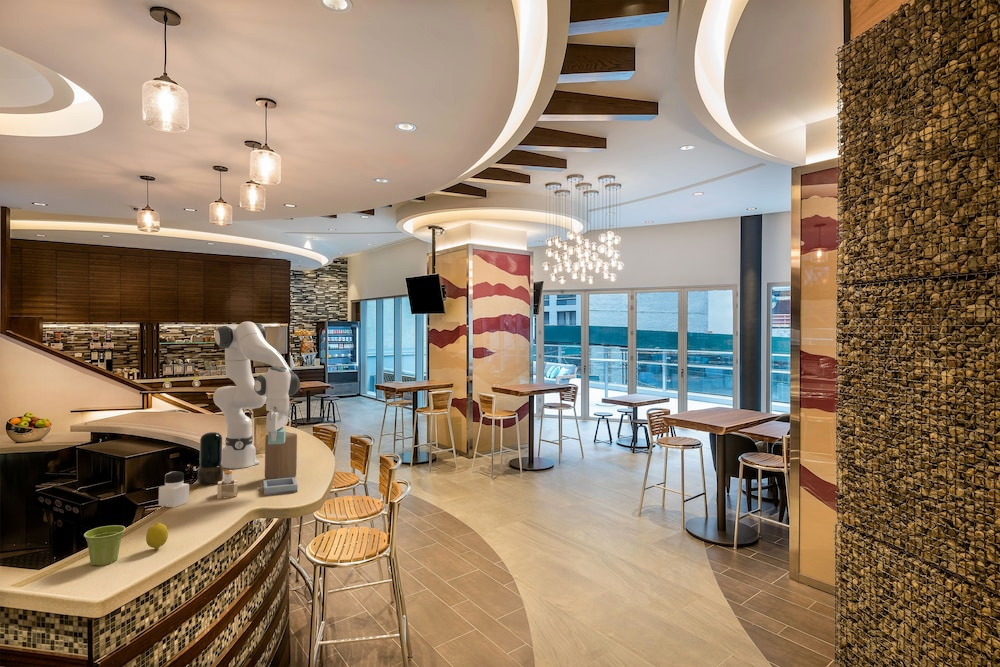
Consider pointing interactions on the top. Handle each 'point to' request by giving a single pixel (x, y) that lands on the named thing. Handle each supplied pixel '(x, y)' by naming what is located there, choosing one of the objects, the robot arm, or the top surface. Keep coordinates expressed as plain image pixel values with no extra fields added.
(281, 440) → the narrow bore block
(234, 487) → the wide bore block
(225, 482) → the cylinder
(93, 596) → the top surface
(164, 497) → the medicine bottle
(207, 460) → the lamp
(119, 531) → the plant pot
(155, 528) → the lemon
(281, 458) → the block
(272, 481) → the tray
